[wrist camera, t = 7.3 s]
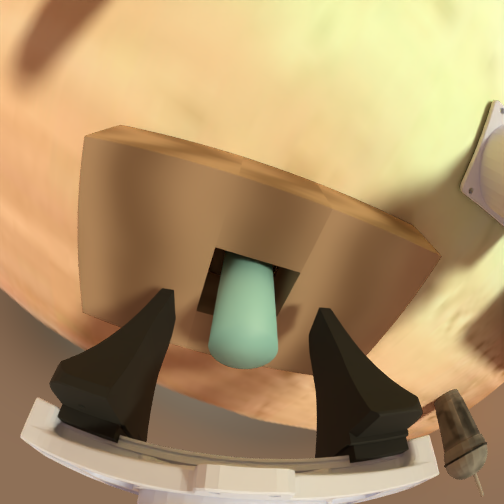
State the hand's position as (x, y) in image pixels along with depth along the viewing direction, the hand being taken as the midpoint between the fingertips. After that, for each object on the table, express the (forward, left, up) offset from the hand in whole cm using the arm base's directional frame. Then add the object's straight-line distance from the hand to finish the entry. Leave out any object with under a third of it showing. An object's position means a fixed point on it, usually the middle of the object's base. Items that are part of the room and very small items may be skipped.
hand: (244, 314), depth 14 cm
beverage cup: (-38, +15, -6) cm, 41 cm away
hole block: (0, 0, -6) cm, 6 cm away
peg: (0, 0, -6) cm, 6 cm away
